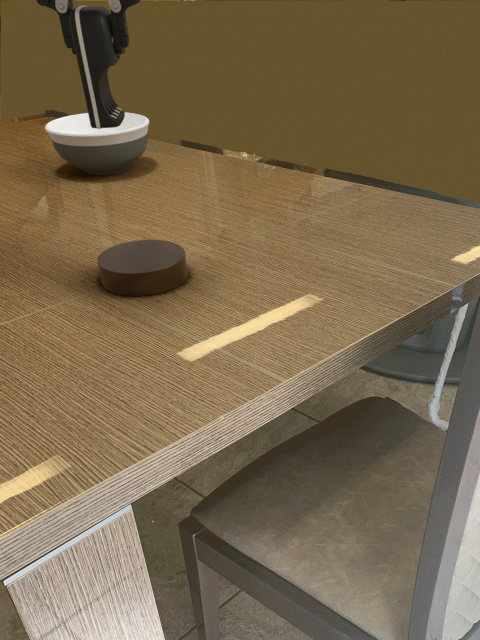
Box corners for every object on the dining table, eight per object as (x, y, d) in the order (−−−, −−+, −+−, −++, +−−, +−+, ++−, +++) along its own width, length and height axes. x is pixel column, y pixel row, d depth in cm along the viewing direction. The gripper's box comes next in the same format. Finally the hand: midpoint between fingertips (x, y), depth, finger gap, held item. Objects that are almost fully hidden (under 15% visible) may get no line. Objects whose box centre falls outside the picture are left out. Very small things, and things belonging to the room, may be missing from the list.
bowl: (144, 182, 116) (136, 134, 111) (41, 183, 116) (29, 134, 111) (164, 155, 131) (157, 111, 126) (72, 155, 131) (62, 111, 126)
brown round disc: (93, 297, 79) (88, 274, 77) (111, 261, 88) (106, 240, 86) (183, 294, 80) (180, 272, 78) (191, 259, 88) (189, 238, 87)
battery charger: (125, 130, 72) (104, 9, 65) (90, 131, 71) (65, 9, 64) (133, 116, 77) (114, 3, 70) (100, 117, 77) (78, 3, 70)
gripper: (-33, -164, 56) (23, 59, 67) (131, -164, 57) (161, 57, 67) (-5, -155, 62) (42, 49, 73) (143, -154, 63) (169, 47, 73)
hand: (99, 52), depth 70 cm, fingers closed on battery charger, 4 cm apart
